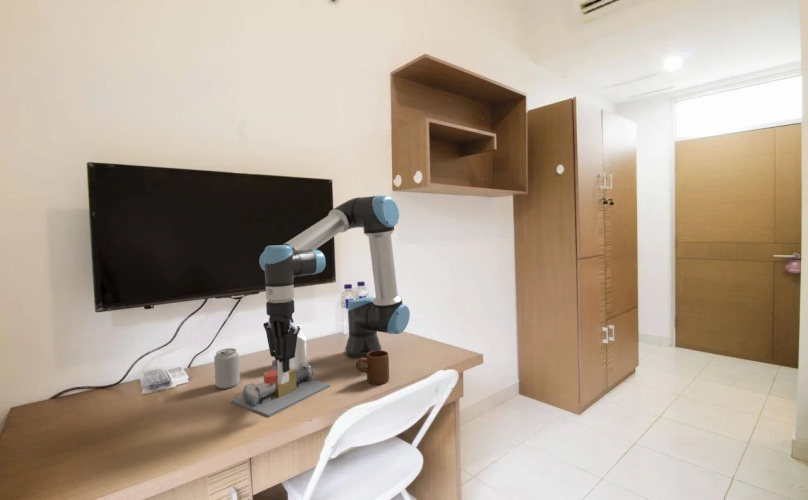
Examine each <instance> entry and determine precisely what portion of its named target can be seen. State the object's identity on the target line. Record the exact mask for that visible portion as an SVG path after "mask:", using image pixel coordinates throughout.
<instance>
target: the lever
mask: <svg viewBox="0 0 808 500" xmlns="http://www.w3.org/2000/svg"><path fill="white" fill-rule="evenodd" d="M271 364H272V365H271V366H272V367H271V369H270V370H267V371H266V372H267V374H266V375H265V384H269V383H276V381H277V380H278V372H277V366H276V360H275V359H274V360H272V362H271Z"/></svg>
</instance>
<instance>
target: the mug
mask: <svg viewBox="0 0 808 500" xmlns="http://www.w3.org/2000/svg"><path fill="white" fill-rule="evenodd" d="M361 363H363V364H364V363H365V364H366V367H365V366H364V367H362V366H361ZM355 369H356V370H357V371H358V373H361V374H363V373H365V374H366V380H367V383H369V384H371V385H377V386H378V385H384V384H386V383H388V382H389V380H390V357H389V353H388V351H386V350H381V351H371V352H369V353H367V358H363V357H362V358H359V359H356V362H355Z"/></svg>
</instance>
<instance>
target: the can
mask: <svg viewBox="0 0 808 500" xmlns="http://www.w3.org/2000/svg"><path fill="white" fill-rule="evenodd" d="M239 354H240V353H238V351H237V349H236V348H222V349H219V350H217V351H216V353H215V356H214V357H213V359H214V360H213V361H214V377H215V381H214V382H215V387H217V388H218V389H221V390H226V389H231V388H234V387H236V386H237V385H238V384H239V383H240V382H241V378H240V356H239Z"/></svg>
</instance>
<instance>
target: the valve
mask: <svg viewBox="0 0 808 500" xmlns="http://www.w3.org/2000/svg"><path fill="white" fill-rule="evenodd" d="M267 372H268V371H266V372H263V381H261V382H260V383H257V384H254V383H252V382H251V383H248V384H246V385H244V386H243V389H242V395H243V398H244V401H245V402H246V404H248V405H250V406H254V405H256V404H258V402H260V403H262V404H263V403H265V402H267V401H270V400H271V397H268V395H271V396H274V397H277V398H280V397H282V396H284V395H286V394H289V393H291V392H293V391H295V390H297V386H298V387H300V386H302V385H305V384H306V381H309V380H311V379H312V380H313V377H314V368H313V366H312V365H311V364H310V363H309V362H308V361H307V362H303V363H301V364H300V365H299V366H298V368H296V369H289V381H288V382H286V383H283V384H279V383H278V380H277V381H276V383H269V384H265V375H266V374H267ZM302 380H304V381H302Z"/></svg>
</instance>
